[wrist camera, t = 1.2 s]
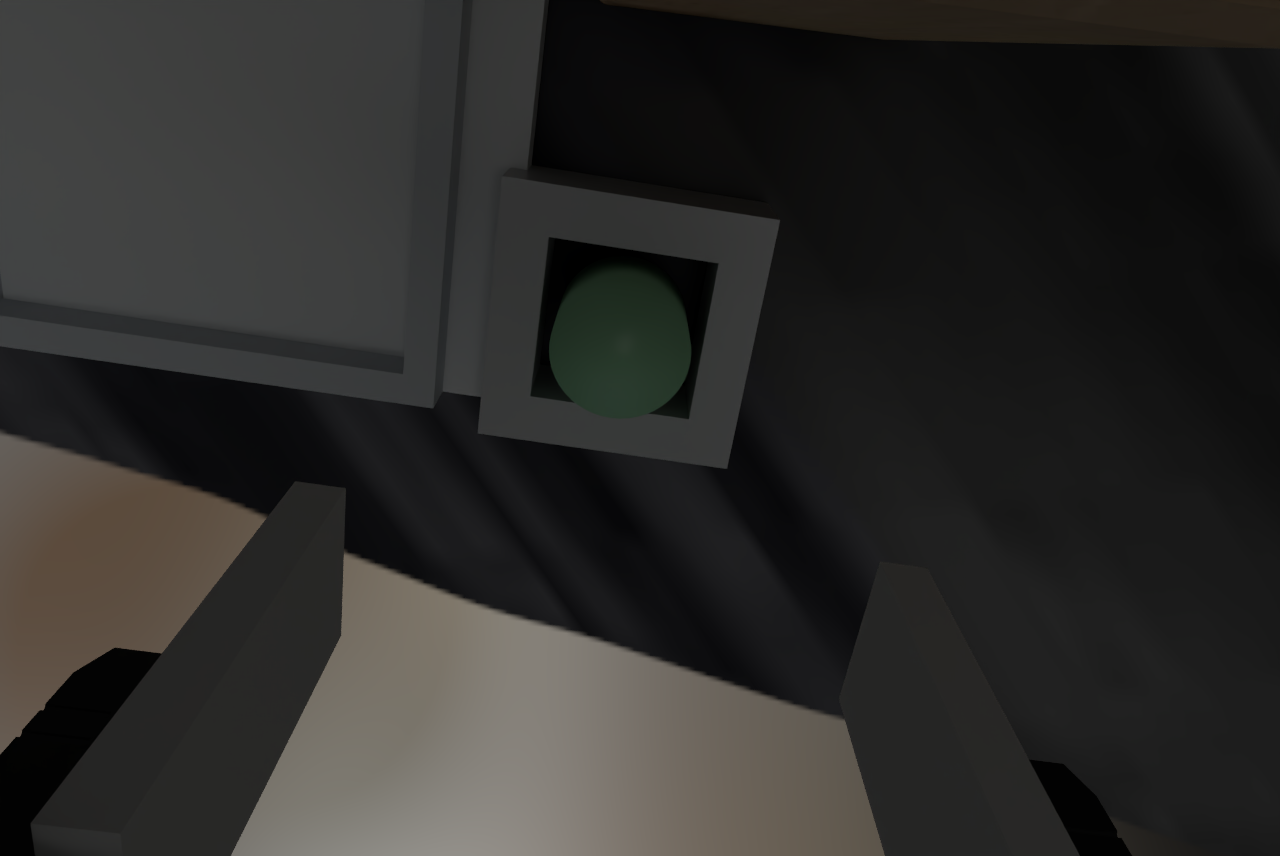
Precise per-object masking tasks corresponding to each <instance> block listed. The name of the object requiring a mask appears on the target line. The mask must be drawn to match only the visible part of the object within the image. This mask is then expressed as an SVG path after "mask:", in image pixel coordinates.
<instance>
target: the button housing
mask: <svg viewBox="0 0 1280 856" xmlns="http://www.w3.org/2000/svg"><path fill="white" fill-rule="evenodd" d="M779 223H780V220H779V218H778V217H777V215H776V214H775V213H774V211H773V210H772V209H771V207H770V206H769V205H768V203H766V202H760V201H754V200H747V199H741V198H735V197H729V196H722V195H716V194H710V193H704V192H697V191H691V190H685V189H679V188H672V187H666V186H660V185H654V184H647V183H641V182H635V181H629V180H622V179H616V178H610V177H604V176H597V175H591V174H585V173H579V172H572V171H566V170H560V169H554V168H547V167H541V166H535V165H531V166H530V167H529V168H528V170H523V169H517V168H509V169H508V170H507V171H506V173H505V174H504V175H503V176H502V182H501V192H500V203H499V213H498V224H497V235H496V245H495V256H494V266H493V277H492V287H491V298H490V309H489V319H488V330H487V340H486V351H485V362H484V372H483V383H482V393H481V404H480V414H479V425H478V433H479V434H486V435H493V436H500V437H507V438H514V439H521V440H528V441H535V442H542V443H549V444H557V445H564V446H571V447H578V448H585V449H592V450H599V451H606V452H613V453H620V454H627V455H634V456H641V457H648V458H655V459H662V460H669V461H676V462H683V463H690V464H697V465H704V466H711V467H718V468H725V469H727V466H728V461H729V456H730V452H731V447H732V442H733V438H734V433H735V428H736V424H737V419H738V414H739V410H740V405H741V400H742V396H743V391H744V386H745V382H746V377H747V372H748V367H749V363H750V358H751V353H752V349H753V344H754V339H755V335H756V330H757V325H758V321H759V316H760V311H761V307H762V302H763V297H764V293H765V288H766V283H767V279H768V274H769V269H770V265H771V260H772V255H773V251H774V246H775V241H776V237H777V232H778V227H779ZM555 238H559V239H565V240H572V241H578V242H585V243H591V244H598V245H604V246H610V247H617V248H623V249H630V250H636V251H642V252H649V253H655V254H662V255H668V256H675V257H681V258H687V259H694V260H700V261H707V262H708V265H707V270H706V275H705V281H704V286H703V291H702V297H701V302H700V307H699V313H698V318H697V323H696V329H695V334H694V339H693V345H692V350H691V361H690V366H689V370H688V373H687V377H686V382H685V386H683V385H682V386H681V387H680V389H679V390H678V391H677V393H676V394H675V395H674V396H673V397H672V398H671V399H670V400H669V401H668V402H667V403H665V404H664V405H663V406H661V407H660V408H658V409H656V410H655V411H652V412H650V413H648V414H645V415H642V416H638V417H633V418H623V419H618V418H608V417H603V416H600V415H597V414H594V413H591V412H589V411H587V410H585V409H583V408H582V407H580V406H579V405H577V404H576V403H575V402H574V401H572V400H571V399H570V398H569V397H568V396H567V395H566V394H565V393H564V391H563V390H562V388H561V387H560V386H559V384H558V382H557V380H556V378H555V376H554V373H553V371H552V368H551V366H547V365H540V360H541V352H542V344H543V335H544V327H545V319H546V310H547V302H548V294H549V285H550V277H551V268H552V260H553V252H554V243H555Z"/></svg>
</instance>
